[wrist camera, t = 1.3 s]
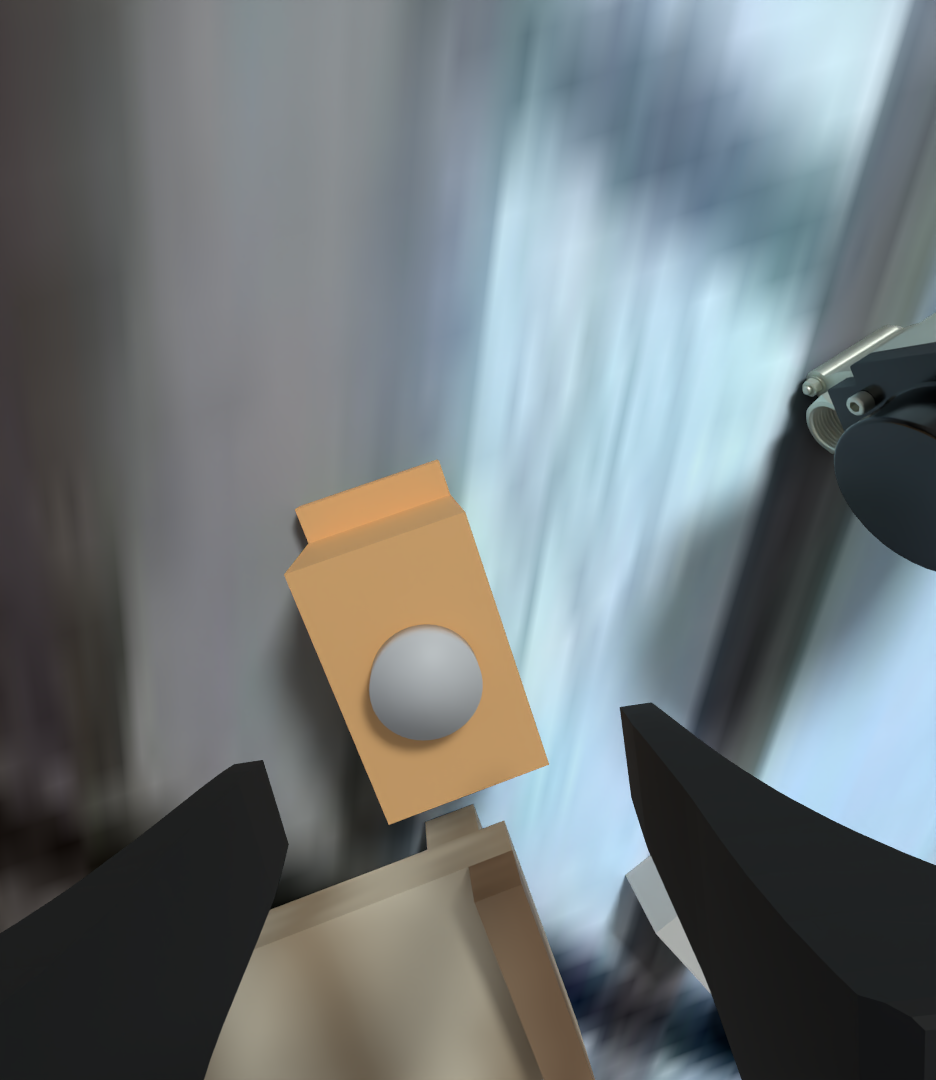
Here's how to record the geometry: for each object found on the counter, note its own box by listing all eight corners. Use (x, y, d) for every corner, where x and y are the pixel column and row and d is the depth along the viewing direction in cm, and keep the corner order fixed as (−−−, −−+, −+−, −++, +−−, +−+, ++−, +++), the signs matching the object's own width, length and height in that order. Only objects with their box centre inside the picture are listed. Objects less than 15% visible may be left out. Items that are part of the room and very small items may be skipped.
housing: (401, 761, 22) (403, 879, 16) (299, 506, 19) (258, 537, 14) (523, 716, 22) (568, 815, 16) (437, 459, 20) (453, 470, 14)
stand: (185, 1138, 23) (137, 1300, 19) (74, 954, 21) (-9, 1090, 17) (565, 985, 24) (603, 1106, 20) (497, 795, 22) (521, 884, 18)
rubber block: (674, 928, 25) (711, 994, 22) (623, 872, 24) (655, 933, 21) (745, 872, 25) (792, 930, 22) (697, 813, 24) (739, 866, 21)
